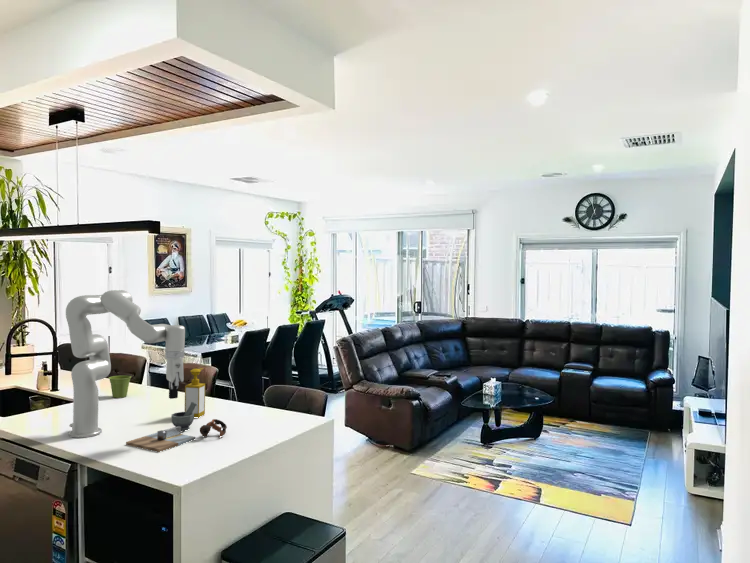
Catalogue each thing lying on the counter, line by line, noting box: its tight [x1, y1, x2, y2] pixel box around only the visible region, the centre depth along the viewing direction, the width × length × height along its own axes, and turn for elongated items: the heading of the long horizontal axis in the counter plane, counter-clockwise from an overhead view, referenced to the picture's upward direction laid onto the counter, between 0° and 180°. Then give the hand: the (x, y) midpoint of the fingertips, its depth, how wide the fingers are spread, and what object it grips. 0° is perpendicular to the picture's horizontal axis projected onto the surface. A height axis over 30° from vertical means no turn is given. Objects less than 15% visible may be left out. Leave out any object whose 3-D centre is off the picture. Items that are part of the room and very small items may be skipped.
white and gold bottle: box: [184, 368, 206, 419], centre depth 265 cm, size 7×13×24 cm, turn 174°
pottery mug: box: [199, 418, 228, 438], centre depth 228 cm, size 12×10×8 cm
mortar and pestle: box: [171, 402, 197, 432], centre depth 239 cm, size 11×9×12 cm
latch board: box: [125, 432, 196, 453], centre depth 219 cm, size 19×19×1 cm
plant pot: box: [108, 375, 132, 399], centre depth 302 cm, size 12×12×11 cm
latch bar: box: [156, 426, 182, 440], centre depth 223 cm, size 11×3×3 cm, turn 149°
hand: (173, 398), depth 223 cm, fingers closed
